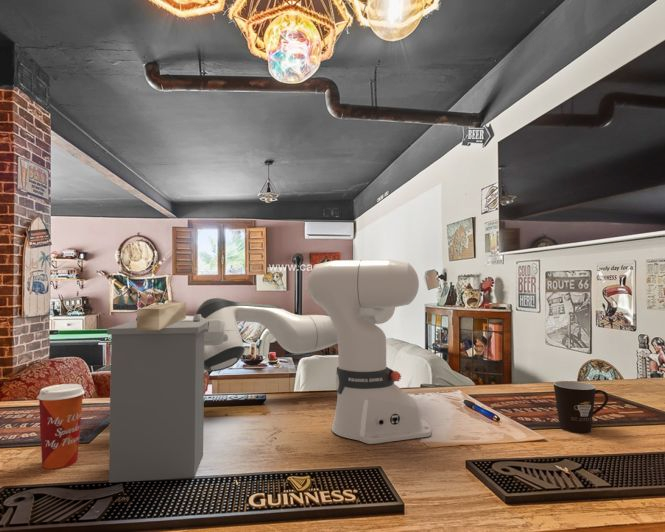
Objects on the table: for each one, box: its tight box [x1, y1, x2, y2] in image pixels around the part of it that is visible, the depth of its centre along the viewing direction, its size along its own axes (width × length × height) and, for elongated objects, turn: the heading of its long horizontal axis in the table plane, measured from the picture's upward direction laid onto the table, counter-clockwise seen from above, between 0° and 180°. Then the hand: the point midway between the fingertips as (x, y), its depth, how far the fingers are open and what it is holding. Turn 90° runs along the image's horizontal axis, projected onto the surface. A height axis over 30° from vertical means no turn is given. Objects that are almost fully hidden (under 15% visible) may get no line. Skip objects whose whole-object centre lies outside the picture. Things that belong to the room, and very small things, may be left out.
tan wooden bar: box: [136, 301, 187, 330], centre depth 84 cm, size 4×23×4 cm, turn 8°
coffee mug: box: [553, 380, 609, 434], centre depth 101 cm, size 12×9×10 cm
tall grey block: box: [106, 322, 207, 483], centre depth 81 cm, size 15×11×26 cm
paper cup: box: [36, 383, 86, 470], centre depth 83 cm, size 8×8×14 cm
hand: (174, 317), depth 94 cm, fingers open, 8 cm apart
